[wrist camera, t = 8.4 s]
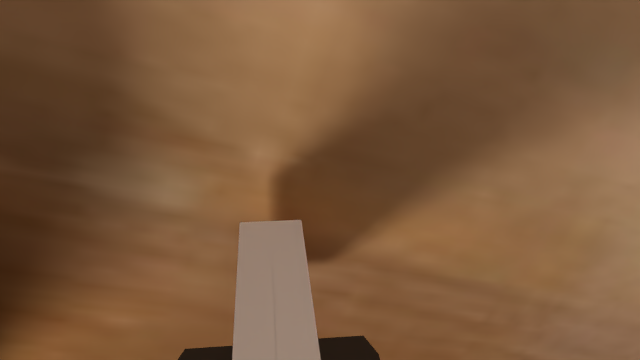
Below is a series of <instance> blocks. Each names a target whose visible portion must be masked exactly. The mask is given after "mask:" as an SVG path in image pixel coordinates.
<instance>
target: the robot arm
mask: <svg viewBox="0 0 640 360" xmlns="http://www.w3.org/2000/svg"><path fill="white" fill-rule="evenodd" d="M178 360H380V358H379V354H378V353H377V352H376V351H375V349H374V348H373V347H372V346H371V345H370V343H369V342H368V341H367V340H366V338H365V337H364V336H352V337H337V338H321V339H318V336H317V328H316V321H315V314H314V307H313V300H312V293H311V285H310V278H309V271H308V264H307V257H306V249H305V242H304V235H303V228H302V221H301V220H283V221H260V222H240V227H239V245H238V263H237V281H236V299H235V317H234V335H233V346H224V347H208V348H193V349H185V350H184V352H183V353H182V354H181V356H180V357H179V359H178Z"/></svg>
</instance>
